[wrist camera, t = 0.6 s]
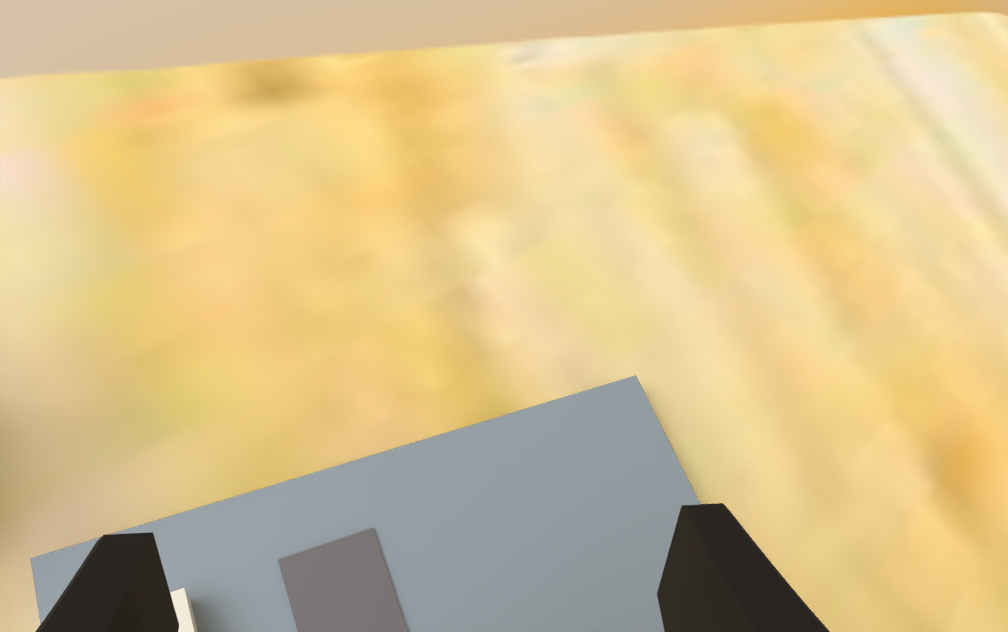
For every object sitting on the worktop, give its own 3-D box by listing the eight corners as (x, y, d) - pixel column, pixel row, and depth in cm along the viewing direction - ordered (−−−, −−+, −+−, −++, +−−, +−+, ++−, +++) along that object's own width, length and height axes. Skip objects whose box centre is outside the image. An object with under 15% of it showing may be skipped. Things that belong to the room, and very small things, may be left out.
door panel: (765, 681, 30) (814, 668, 27) (112, 1005, 22) (87, 1036, 19) (623, 390, 35) (652, 355, 32) (42, 569, 27) (14, 543, 24)
